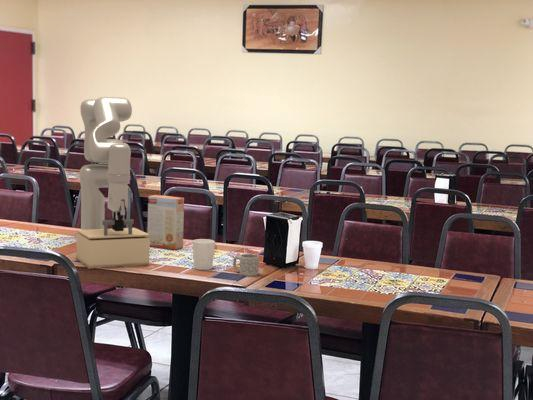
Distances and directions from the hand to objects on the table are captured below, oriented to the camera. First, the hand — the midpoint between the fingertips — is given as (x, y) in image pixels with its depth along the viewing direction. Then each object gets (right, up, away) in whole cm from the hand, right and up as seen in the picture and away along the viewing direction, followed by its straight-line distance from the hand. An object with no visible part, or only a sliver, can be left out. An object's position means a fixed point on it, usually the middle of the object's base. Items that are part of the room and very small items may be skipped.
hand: (118, 230), depth 273 cm
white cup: (+30, -14, +4) cm, 33 cm away
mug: (+45, -16, -2) cm, 48 cm away
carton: (-3, -12, +7) cm, 14 cm away
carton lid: (-3, -2, +6) cm, 7 cm away
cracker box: (+12, -9, +39) cm, 41 cm away
